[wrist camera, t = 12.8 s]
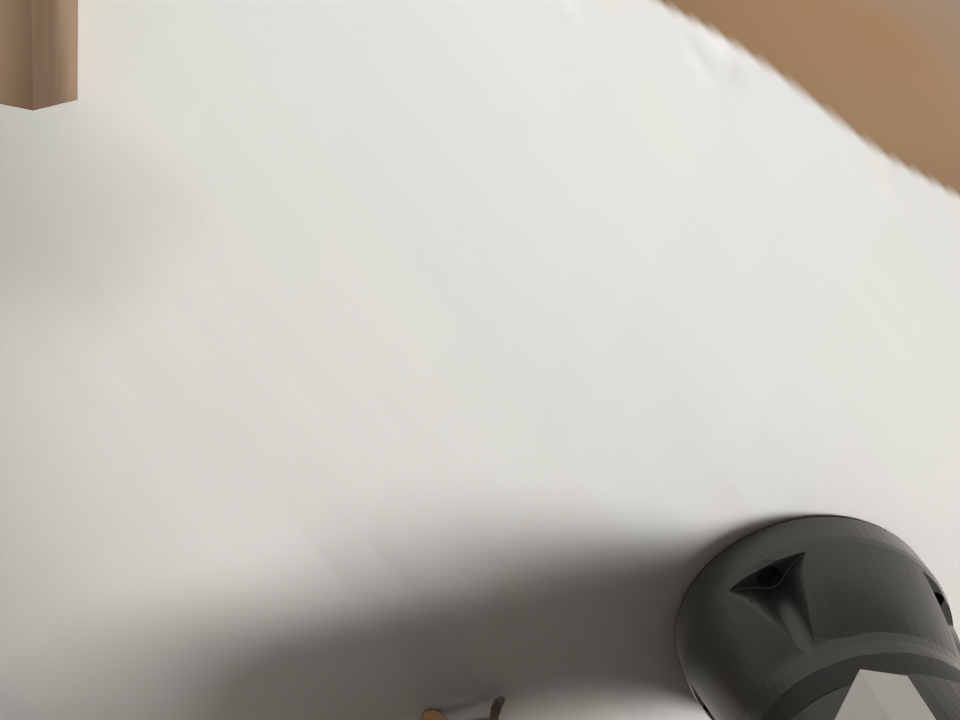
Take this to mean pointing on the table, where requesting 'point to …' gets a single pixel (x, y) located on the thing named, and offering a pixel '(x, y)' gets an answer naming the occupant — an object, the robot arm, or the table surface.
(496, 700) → the lion figurine
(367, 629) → the table surface
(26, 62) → the walnut base
